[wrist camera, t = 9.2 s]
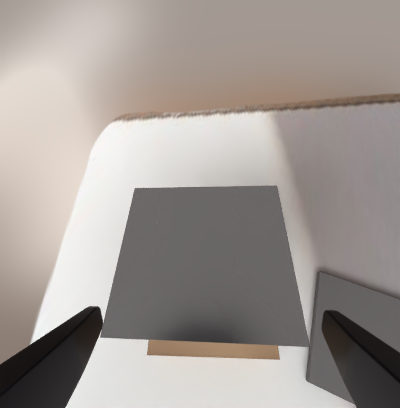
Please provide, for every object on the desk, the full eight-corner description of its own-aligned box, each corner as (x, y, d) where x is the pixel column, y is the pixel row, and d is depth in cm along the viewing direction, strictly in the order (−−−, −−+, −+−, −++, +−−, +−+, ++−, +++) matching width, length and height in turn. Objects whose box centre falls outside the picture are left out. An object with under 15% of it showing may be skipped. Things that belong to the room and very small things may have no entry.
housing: (247, 322, 14) (309, 347, 5) (174, 319, 14) (100, 337, 5) (242, 255, 16) (277, 185, 7) (179, 255, 16) (134, 188, 7)
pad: (440, 445, 12) (449, 450, 12) (305, 379, 14) (308, 382, 13) (423, 310, 15) (429, 310, 15) (317, 272, 17) (320, 271, 17)
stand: (270, 352, 15) (279, 359, 13) (156, 348, 15) (147, 354, 13) (255, 240, 19) (260, 231, 17) (167, 241, 20) (161, 232, 18)
